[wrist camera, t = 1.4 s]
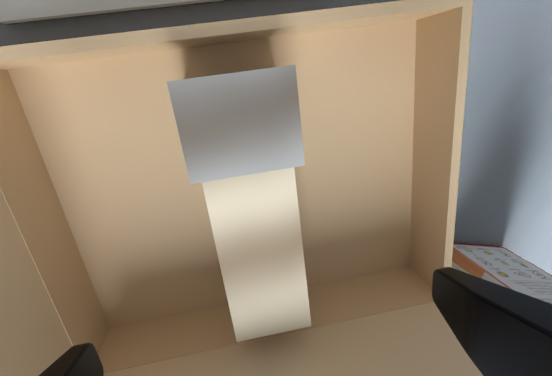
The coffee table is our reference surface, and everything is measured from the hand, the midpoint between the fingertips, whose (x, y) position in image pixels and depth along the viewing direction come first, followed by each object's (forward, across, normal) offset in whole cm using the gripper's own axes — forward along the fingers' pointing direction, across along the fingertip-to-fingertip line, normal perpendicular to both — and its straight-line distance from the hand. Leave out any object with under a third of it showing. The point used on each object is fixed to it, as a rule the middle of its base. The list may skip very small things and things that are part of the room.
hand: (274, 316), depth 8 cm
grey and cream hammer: (+11, 0, 0) cm, 11 cm away
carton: (+12, 0, 0) cm, 12 cm away
